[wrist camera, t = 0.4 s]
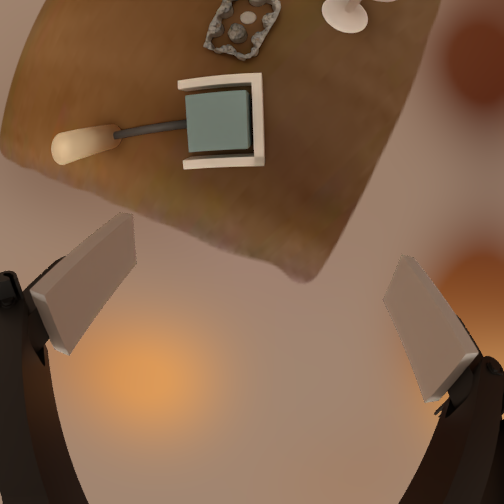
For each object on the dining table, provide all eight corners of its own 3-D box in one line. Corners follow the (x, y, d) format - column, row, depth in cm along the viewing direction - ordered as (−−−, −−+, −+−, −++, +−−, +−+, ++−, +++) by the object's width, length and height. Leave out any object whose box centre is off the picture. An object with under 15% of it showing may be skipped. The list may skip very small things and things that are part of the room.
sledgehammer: (99, 117, 34) (48, 125, 23) (250, 94, 32) (239, 83, 21) (104, 159, 37) (55, 178, 26) (251, 144, 35) (241, 155, 25)
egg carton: (236, -7, 24) (232, -19, 21) (286, 9, 25) (287, -2, 22) (202, 50, 29) (194, 43, 26) (252, 67, 30) (249, 61, 27)
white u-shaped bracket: (186, 83, 31) (177, 80, 28) (262, 77, 31) (261, 72, 27) (191, 164, 37) (183, 169, 34) (265, 161, 36) (264, 166, 33)
